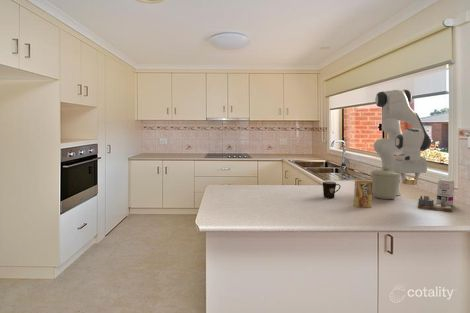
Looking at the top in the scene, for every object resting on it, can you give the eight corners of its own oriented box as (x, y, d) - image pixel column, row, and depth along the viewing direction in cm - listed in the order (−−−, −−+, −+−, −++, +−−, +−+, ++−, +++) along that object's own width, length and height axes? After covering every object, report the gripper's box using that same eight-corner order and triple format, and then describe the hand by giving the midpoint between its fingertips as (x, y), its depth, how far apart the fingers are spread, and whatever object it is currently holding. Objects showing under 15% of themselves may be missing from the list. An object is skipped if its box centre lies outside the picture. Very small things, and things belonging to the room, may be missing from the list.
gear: (418, 204, 175) (419, 196, 175) (418, 202, 181) (418, 194, 181) (433, 206, 171) (434, 198, 171) (433, 203, 178) (433, 196, 177)
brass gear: (401, 184, 173) (402, 178, 172) (402, 182, 179) (402, 177, 179) (416, 185, 169) (417, 180, 169) (416, 183, 175) (417, 178, 175)
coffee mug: (322, 198, 196) (322, 183, 195) (321, 195, 204) (322, 181, 204) (341, 199, 193) (341, 184, 192) (339, 196, 202) (340, 181, 201)
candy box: (368, 205, 178) (370, 180, 177) (371, 207, 174) (372, 181, 173) (353, 205, 179) (354, 179, 177) (355, 207, 174) (357, 180, 173)
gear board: (418, 207, 174) (418, 196, 174) (418, 204, 183) (418, 193, 182) (452, 212, 166) (453, 200, 165) (450, 208, 175) (451, 197, 174)
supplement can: (449, 203, 186) (451, 179, 185) (455, 206, 178) (457, 181, 177) (434, 202, 189) (436, 178, 187) (439, 205, 181) (441, 180, 179)
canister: (392, 195, 208) (394, 164, 206) (404, 201, 190) (406, 168, 188) (365, 194, 210) (367, 164, 208) (375, 200, 192) (376, 167, 190)
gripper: (421, 156, 178) (419, 179, 179) (392, 156, 173) (390, 180, 174) (430, 157, 172) (429, 181, 173) (400, 157, 167) (399, 182, 168)
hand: (409, 180), depth 174 cm, fingers closed on brass gear, 6 cm apart
